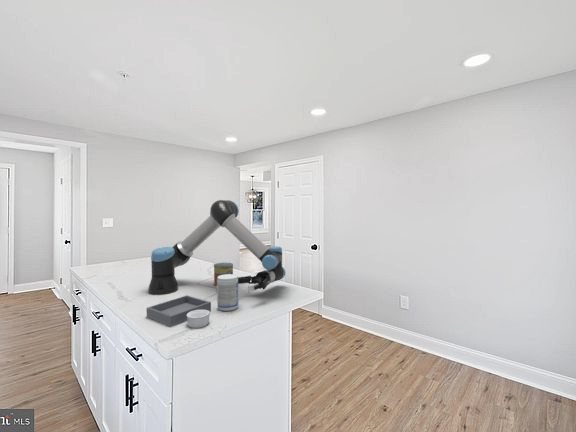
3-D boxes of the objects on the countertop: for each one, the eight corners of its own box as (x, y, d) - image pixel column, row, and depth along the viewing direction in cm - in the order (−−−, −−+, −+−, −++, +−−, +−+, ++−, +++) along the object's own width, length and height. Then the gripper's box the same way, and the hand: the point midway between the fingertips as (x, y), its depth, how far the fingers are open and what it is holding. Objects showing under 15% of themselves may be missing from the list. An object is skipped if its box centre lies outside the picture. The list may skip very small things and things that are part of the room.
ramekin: (181, 326, 109) (181, 315, 109) (196, 318, 117) (196, 308, 117) (200, 330, 106) (200, 319, 106) (214, 321, 114) (214, 311, 114)
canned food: (223, 287, 161) (223, 267, 161) (210, 284, 167) (209, 264, 167) (237, 283, 171) (237, 263, 170) (223, 280, 177) (223, 261, 176)
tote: (146, 317, 118) (146, 307, 118) (186, 303, 135) (186, 295, 135) (170, 326, 109) (170, 316, 109) (210, 310, 125) (210, 302, 125)
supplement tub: (241, 309, 128) (241, 277, 127) (221, 313, 123) (221, 280, 122) (233, 302, 136) (233, 272, 136) (214, 306, 131) (214, 275, 130)
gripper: (284, 288, 145) (258, 299, 127) (247, 281, 159) (219, 290, 141) (284, 273, 145) (258, 283, 127) (247, 268, 158) (219, 275, 140)
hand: (237, 287), depth 134 cm, fingers open, 13 cm apart
